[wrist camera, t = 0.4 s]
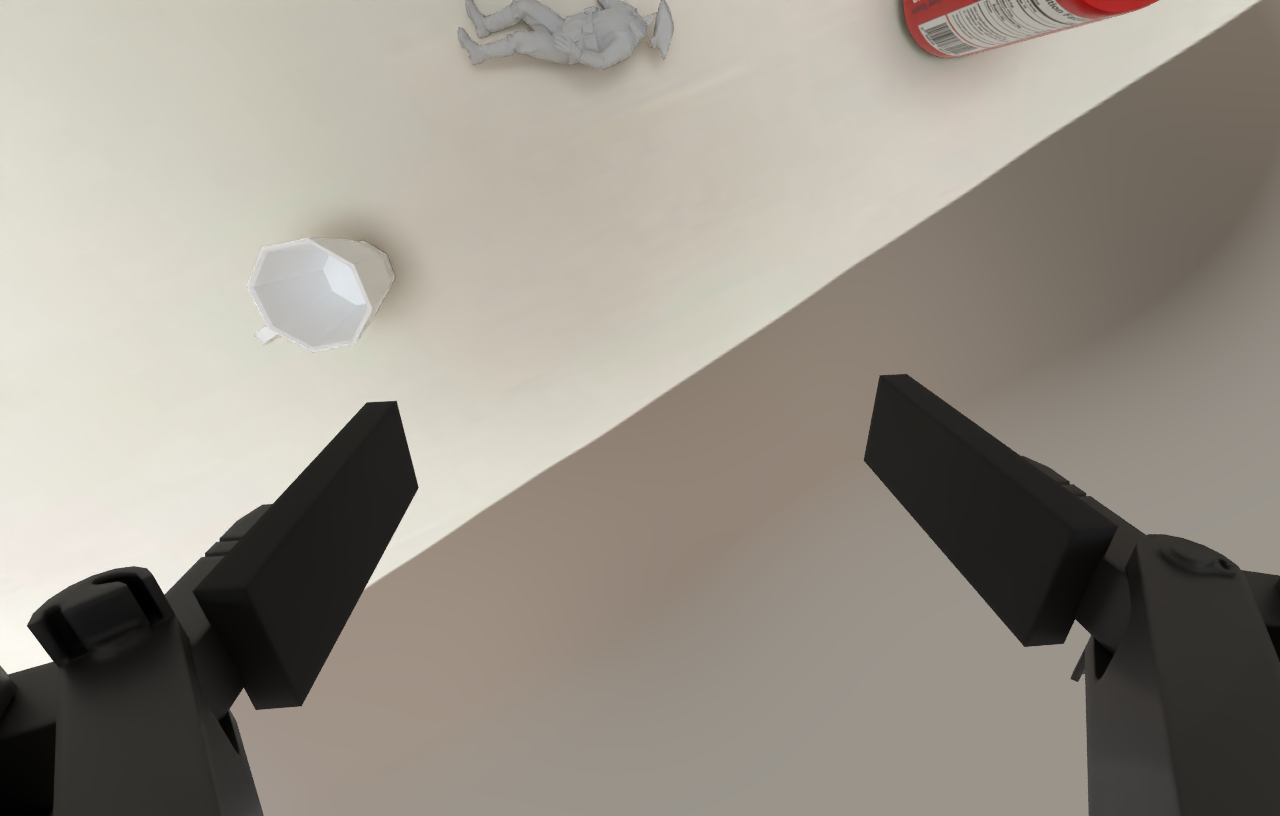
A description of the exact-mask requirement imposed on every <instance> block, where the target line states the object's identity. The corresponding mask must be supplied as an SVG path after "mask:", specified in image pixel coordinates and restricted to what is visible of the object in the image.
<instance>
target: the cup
mask: <svg viewBox="0 0 1280 816" xmlns="http://www.w3.org/2000/svg"><path fill="white" fill-rule="evenodd" d="M394 279H395V275H394V272H393V270H392V267H391V264H390V262H389V259H388V257H387V254H386V253H384V252H382V251H381V250H379V249H377V248H375V247H374V246H372V245H370V244H369V243H367V242H365V241H359V242H356V241H352V240H349V239H345V238H304V239H299V240H294V241H289V242H284V243H280V244H275V245H270V246H265V247H261V250H260V253H259V255H258V258H257V260H256V263H255V265H254V268H253V270H252V273H251V276H250V278H249V281H248V283H247V286H246V287H247V289H248V291H249V293H250V295H251V297H252V299H253V300H254V302H255V304H256V306H257V308H258V310H259V312H260V314H261V316H262V318H263V320H264V322H265V324H266V325H265V326H264V327H263V328H262V329H260V330H259V331H258V332H257V333H256V334H255V335H254V337H255V338H256V339H257V340H258V341H259V342H260V343H261V344H263V345H264V346H265V345H267V344H269V343H271V342H273V341H274V340H276V339H278V338H280V337H281V336H282V337H284V338H286V339H288V340H290V341H292V342H294V343H295V344H297V345H299V346H301V347H303V348H305V349H307V350H309V351H311V352H313V353H314V352H319V351H324V350H329V349H334V348H339V347H344V346H349V345H354V344H356V342H357V341H358V339H359V338H360V337H361V335H362V334H363V332H364V330H365V329H366V327H367V326H368V325H369V323H370V322H371V320H372V319H373V318H374V316H375V315H376V313H377V311H378V309H379V307H380V305H381V303H382V301H383V299H384V297H385V296H386V295H387V293H388V291H389V289H390V287H391V285H392V283H393V281H394Z"/></svg>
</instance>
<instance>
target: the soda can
mask: <svg viewBox="0 0 1280 816" xmlns="http://www.w3.org/2000/svg"><path fill="white" fill-rule="evenodd" d="M1157 1H1159V0H903V6H904V14H905V19H906V23H907V26H908V29H909V31H910V33H911V35H912V37H913V38H914V40H915V41H916V42H917V44H918V45H919V46H920V47H921V48H922V49H924V50H925V51H927V52H928V53H930V54H932V55H934V56H937V57H942V58H960V57H965V56H969V55H973V54H977V53H981V52H984V51H988V50H992V49H996V48H999V47H1003V46H1007V45H1011V44H1014V43H1018V42H1022V41H1026V40H1029V39H1033V38H1037V37H1041V36H1044V35H1048V34H1052V33H1056V32H1059V31H1063V30H1067V29H1071V28H1074V27H1078V26H1082V25H1086V24H1089V23H1093V22H1097V21H1101V20H1104V19H1108V18H1112V17H1116V16H1119V15H1123V14H1126V13H1130V12H1133V11H1136V10H1139V9H1142V8H1144V7H1146V6H1149V5H1151V4H1153V3H1155V2H1157Z"/></svg>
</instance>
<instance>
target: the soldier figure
mask: <svg viewBox="0 0 1280 816" xmlns="http://www.w3.org/2000/svg"><path fill="white" fill-rule="evenodd" d="M599 2H600V4H601V5H602V6H603V7H604V10H601V9H598V8H597V7H590V8H587V9H584V10H585V13H579V14H578V15H574V16H567V17H566V19H565V20H564V19H563V18H561V17H560V16H559V15H558V14H556V13H555V12H554V11H552V10H551V9H550V8H549V7H547V6H545V5H543V4H541V3H539V2H537V1H536V0H518V1H516V0H513V2H512V4H511V5H508V6H507V7H505V8H504V9H502V10H500V11H498V12H496V13H495V14H493V15H489V16H488V17H485V16H484V15H483V14H481V13H480V12H479V11H478V9H477V7H476V5H475V3H474V1H473V0H466V9H467V13H468V15H469V17H470V18H472V19H473V21H474V22H475V24H476V31H477V34H478V36H479V37H480V38H482V37H486V36H488V35H490V32H497V31H499V30H501V29H504V28H508V27H510V26H512V25H515V24H518V23H519V21H520V20H524V21H525V22H526V23H527V24H528V25H530V26H531V28H532V30H533V31H528V32H525V31H517V32H515V33H514V34H513V35H512V34H508V35H507V38H505V39H502V40H499V41H496V42H493V43H488V44H485V45H478V44H477V43H475V42H474V41H472V40H471V38H470V37H469V35H468V34H467V32H466V31H465V30H464V29H463V28H460V27H459V28H458V39H459V42H460V44H461V46H462V47H463V48H465V49H466V50H467V51H468V53H469V54H470V55H469V58H470V60H471V62H472V64H473V65H476V64H480V63H482V62H483V61H484V60H486V59H491V58H498V57H506V56H511V55H513V54H514V53H515V52H517V53H520V54H521V53H524V54H527V55H529V56H531V57H535V58H539V59H542V60H546V61H550V62H553V63H565V64H566V63H569V65H573V64H576V63H582V64H585V65H587V66H589V67H592V68H595V69H597V70H605V69H606V68H608V67H609V66H613V65H615V64H616V63H620V62H621V61H623V60H625V59H628V58H629V57H630V55H631V54H632V52H633V50H634V49H635V47H636V46H638V45H639V44H640V43H639V41H640V39H643V38H644V37H646V29H647V26H648V25H649V26H650V24H651V23H652V20H653V17H652V15H653V14H652V15H649V16H647V18H646V23H645V21H644V20H643V18H642V17H641V16H640V15H639V14H638V11H637V9H636V8H634V7H633V6H631V5H629V4H627V3H624V2H622V1H619V0H599ZM654 14H655V13H654ZM646 24H647V25H646ZM673 30H674V25H673V20H672V16H671V12H670V9H669V7H668V5H667V3H666V1H665V0H661V2H660V4H659V8H658V13H656V23H655V28H654V37H653V38H652V39H651V40H650V41H651V42H652V43H653V45H652V47H651V48H653V49H654V48H657V47H658V49H659V50H660V52H661V55H662V58H663V60H664V59H665V57H666V53H667V51H668V48H669V45H670V41H671V38H672V35H673ZM646 44H647V41H646ZM648 47H649V46H648Z"/></svg>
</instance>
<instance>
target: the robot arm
mask: <svg viewBox="0 0 1280 816" xmlns="http://www.w3.org/2000/svg"><path fill="white" fill-rule="evenodd" d="M864 461H865V462H866V464H867V465H868V466H869V467H870V468H871V469H872V470H873V472H874V473H875V474H876V475H877V476H878V477H879V478H880V480H881V481H882V482H883V483H884V484H885V486H886V487H887V488H888V489H889V490H890V491H891V492H892V494H893V495H894V496H895V497H896V498H897V499H898V501H899V502H900V503H901V504H902V505H903V506H904V508H905V509H906V510H907V511H908V512H909V513H910V514H911V516H912V517H913V518H914V519H915V520H916V521H917V523H918V524H919V525H920V526H921V527H922V528H923V530H924V531H925V532H926V533H927V534H928V535H929V537H930V538H931V539H932V540H933V541H934V542H935V544H936V545H937V546H938V547H939V548H940V549H941V550H942V552H943V553H944V554H945V555H946V556H947V557H948V559H949V560H950V561H951V562H952V563H953V564H954V565H955V567H956V568H957V569H958V570H959V571H960V573H961V574H962V575H963V576H964V577H965V578H966V579H967V581H968V582H969V583H970V584H971V585H972V586H973V588H974V589H975V590H976V591H977V592H978V593H979V595H980V596H981V597H982V598H983V599H984V600H985V601H986V602H987V604H988V605H989V606H990V607H991V608H992V610H993V611H994V612H995V613H996V614H997V615H998V617H999V618H1000V619H1001V620H1002V621H1003V622H1004V624H1005V625H1006V626H1007V627H1008V628H1009V629H1010V630H1011V632H1012V633H1013V634H1014V635H1015V636H1016V637H1017V638H1018V640H1019V641H1020V642H1021V643H1022V644H1023V646H1025V647H1028V646H1041V645H1053V644H1063V643H1064V642H1065V640H1066V637H1067V635H1068V633H1069V631H1070V629H1071V627H1072V625H1073V623H1074V620H1075V619H1076V620H1077V621H1078V622H1079V623H1080V624H1081V625H1082V626H1083V627H1084V628H1085V629H1086V630H1087V631H1088V632H1089V633H1090V634H1091V637H1090V639H1089V641H1088V643H1087V645H1086V647H1085V649H1084V651H1083V653H1082V655H1081V657H1080V659H1079V661H1078V663H1077V665H1076V667H1075V669H1074V671H1073V674H1072V676H1071V679H1072V680H1075V681H1077V682H1078V681H1079V679H1080V677H1081V675H1082V674H1085V684H1086V723H1087V759H1088V761H1087V762H1088V801H1089V816H1280V576H1278V575H1271V574H1264V573H1257V572H1250V571H1243V570H1240V568H1239V567H1238V566H1237V565H1236V564H1235V563H1233V562H1232V561H1230V560H1229V559H1227V558H1226V557H1225V556H1223V555H1222V554H1220V553H1218V552H1216V551H1214V550H1212V549H1210V548H1208V547H1206V546H1204V545H1201V544H1198V543H1195V542H1193V541H1190V540H1187V539H1184V538H1179V537H1174V536H1169V535H1162V534H1160V535H1159V534H1158V535H1157V534H1153V535H1152V534H1149V535H1145V534H1144V533H1142V532H1141V531H1139V530H1138V529H1137V528H1135V527H1134V526H1132V525H1131V524H1129V523H1128V522H1126V521H1125V520H1124V519H1122V518H1121V517H1119V516H1118V515H1117V514H1115V513H1114V512H1112V511H1111V510H1109V509H1108V508H1107V507H1105V506H1103V505H1102V504H1101V503H1099V502H1098V501H1096V500H1095V499H1094V498H1092V497H1090V496H1086V493H1085V492H1084V491H1082V490H1081V489H1079V488H1078V487H1076V486H1075V485H1070V483H1069V481H1068V480H1066V479H1065V478H1063V477H1062V476H1061V475H1059V474H1058V473H1056V472H1055V471H1053V470H1052V469H1051V468H1049V467H1047V466H1045V465H1042V464H1040V463H1038V462H1036V461H1033V460H1031V459H1029V458H1027V457H1024V456H1020V455H1019V454H1017V453H1016V452H1014V451H1013V450H1011V449H1010V448H1009V447H1007V446H1006V445H1005V444H1003V443H1002V442H1000V441H999V440H998V439H996V438H995V437H993V436H992V435H991V434H989V433H988V432H986V431H985V430H984V429H982V428H981V427H979V426H978V425H977V424H975V423H974V422H973V421H971V420H970V419H968V418H967V417H966V416H964V415H963V414H961V413H960V412H959V411H957V410H956V409H954V408H953V407H952V406H950V405H949V404H948V403H946V402H945V401H943V400H942V399H941V398H939V397H938V396H936V395H935V394H934V393H932V392H931V391H929V390H928V389H927V388H925V387H923V386H922V385H921V384H920V383H918V382H917V381H915V380H914V379H913V378H911V377H910V376H908V375H907V374H899V375H882V376H880V378H879V382H878V388H877V393H876V398H875V404H874V409H873V414H872V419H871V425H870V431H869V435H868V441H867V446H866V451H865V457H864ZM417 490H418V484H417V480H416V476H415V472H414V468H413V464H412V460H411V456H410V452H409V448H408V444H407V440H406V436H405V433H404V429H403V425H402V421H401V417H400V413H399V409H398V405H397V401H387V402H368V403H366V404H365V405H364V406H363V407H362V408H361V409H360V410H359V412H358V413H357V414H356V415H355V416H354V417H353V418H352V419H351V420H350V421H349V422H348V423H347V425H346V426H345V427H344V428H343V429H342V430H341V431H340V432H339V433H338V434H337V435H336V436H335V437H334V439H333V440H332V441H331V442H330V443H329V444H328V445H327V446H326V447H325V448H324V449H323V450H322V452H321V453H320V454H319V455H318V456H317V457H316V458H315V459H314V460H313V461H312V462H311V463H310V464H309V466H308V467H307V468H306V469H305V470H304V471H303V472H302V473H301V474H300V475H299V476H298V477H297V479H296V480H295V481H294V482H293V483H292V484H291V485H290V486H289V487H288V488H287V489H286V490H285V492H284V493H283V494H282V495H281V496H280V497H279V498H278V499H277V500H276V501H275V502H274V503H273V504H268V505H261V506H260V507H258V508H257V509H255V510H253V511H252V512H250V513H249V514H247V515H246V516H244V517H242V518H241V519H239V520H238V521H236V522H235V524H234V525H233V526H232V527H231V528H230V529H229V530H228V531H227V532H226V533H225V534H224V535H223V536H222V537H221V538H220V542H216V543H215V544H214V545H213V546H212V547H211V548H210V549H209V550H208V551H207V552H206V553H205V557H201V558H200V559H199V560H198V561H197V562H196V563H195V564H194V565H193V566H192V567H191V568H190V569H189V570H188V571H187V572H186V573H185V575H184V576H183V577H182V578H181V579H180V580H179V581H178V582H177V583H176V584H175V585H174V586H173V587H172V588H171V589H170V590H169V591H168V592H167V593H166V594H165V595H164V594H163V592H162V590H161V588H160V587H159V585H158V583H157V581H156V580H155V578H154V576H153V575H152V574H151V572H150V571H149V570H148V569H147V568H141V567H135V566H133V567H125V568H118V569H113V570H110V571H106V572H103V573H100V574H97V575H93V576H91V577H89V578H86V579H84V580H82V581H80V582H78V583H76V584H73V585H71V586H69V587H67V588H66V589H64V590H63V591H61V592H60V593H58V594H56V595H55V596H53V597H52V598H50V599H48V600H47V601H46V602H45V603H44V604H43V605H42V606H41V607H40V608H39V609H38V610H37V611H35V612H34V613H33V615H32V617H31V619H30V621H29V623H28V625H27V627H28V628H29V629H30V631H31V632H32V633H33V635H34V636H35V637H36V639H37V640H38V641H39V643H40V644H41V645H42V647H43V648H44V649H45V651H46V652H47V653H48V655H49V656H50V657H51V659H52V660H53V661H54V662H51V663H47V664H44V665H40V666H37V667H33V668H30V669H26V670H23V671H19V672H16V673H12V674H9V675H8V674H7V673H6V672H5V671H4V670H3V668H2V667H1V666H0V816H263V812H262V808H261V805H260V802H259V798H258V794H257V791H256V788H255V784H254V781H253V777H252V774H251V771H250V767H249V763H248V760H247V756H246V753H245V750H244V746H243V743H242V739H241V736H240V732H239V729H238V726H237V722H236V720H235V718H234V717H233V715H232V713H231V711H230V707H231V706H232V704H233V703H234V701H235V700H236V698H237V697H238V695H239V693H240V692H241V691H242V689H243V688H244V689H245V691H246V692H247V694H248V696H249V698H250V700H251V702H252V704H253V705H254V707H255V709H256V710H259V709H272V708H284V707H297V706H302V704H303V702H304V700H305V698H306V697H307V695H308V693H309V691H310V689H311V687H312V686H313V684H314V682H315V680H316V678H317V676H318V674H319V672H320V671H321V669H322V667H323V665H324V663H325V661H326V659H327V658H328V656H329V654H330V652H331V650H332V648H333V646H334V644H335V643H336V641H337V639H338V637H339V635H340V633H341V631H342V630H343V628H344V626H345V624H346V622H347V620H348V618H349V616H350V615H351V613H352V611H353V609H354V607H355V605H356V603H357V601H358V599H359V598H360V596H361V594H362V592H363V590H364V589H365V587H366V585H367V583H368V581H369V579H370V577H371V575H372V574H373V572H374V570H375V568H376V566H377V564H378V562H379V561H380V559H381V557H382V555H383V553H384V551H385V549H386V547H387V546H388V544H389V542H390V540H391V538H392V536H393V534H394V533H395V531H396V529H397V527H398V525H399V523H400V521H401V519H402V518H403V516H404V514H405V512H406V510H407V508H408V506H409V505H410V503H411V501H412V499H413V497H414V495H415V493H416V492H417Z"/></svg>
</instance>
